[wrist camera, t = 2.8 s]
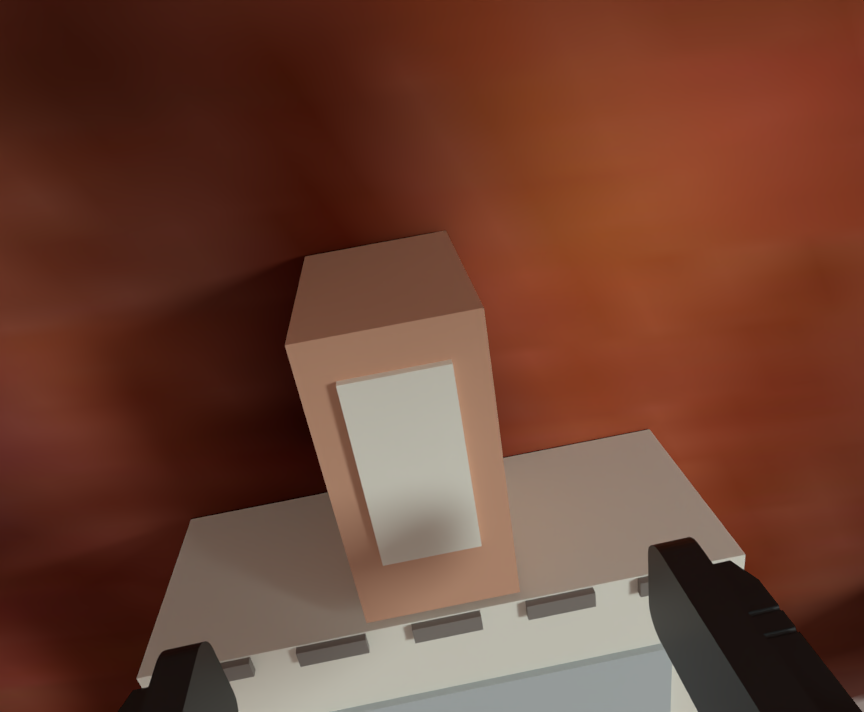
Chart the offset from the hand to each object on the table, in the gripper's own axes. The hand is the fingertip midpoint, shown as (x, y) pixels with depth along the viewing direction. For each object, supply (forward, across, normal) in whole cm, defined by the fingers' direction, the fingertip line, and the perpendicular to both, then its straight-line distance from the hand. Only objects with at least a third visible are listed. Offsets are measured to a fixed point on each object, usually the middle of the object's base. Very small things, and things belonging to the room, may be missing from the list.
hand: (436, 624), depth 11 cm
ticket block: (+10, 0, +8) cm, 13 cm away
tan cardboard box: (+9, 0, -1) cm, 9 cm away
